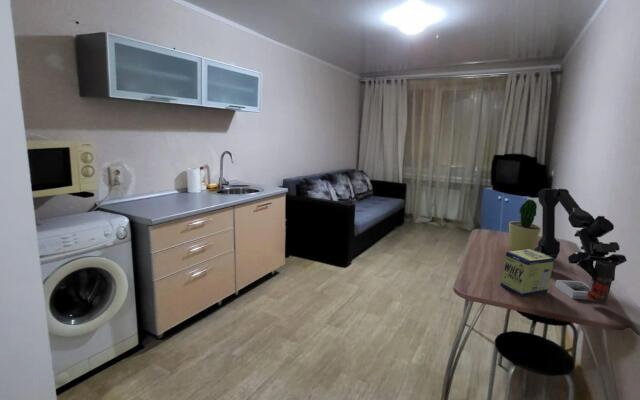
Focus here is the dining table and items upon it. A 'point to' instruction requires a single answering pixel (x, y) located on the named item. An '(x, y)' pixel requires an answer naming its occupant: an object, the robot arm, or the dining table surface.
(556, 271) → the dining table surface
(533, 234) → the potted cactus
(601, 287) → the deodorant
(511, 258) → the protein box
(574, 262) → the robot arm
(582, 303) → the dining table surface
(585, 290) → the collar
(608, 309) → the dining table surface
